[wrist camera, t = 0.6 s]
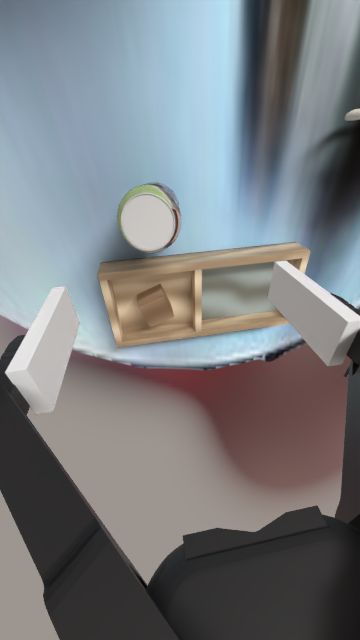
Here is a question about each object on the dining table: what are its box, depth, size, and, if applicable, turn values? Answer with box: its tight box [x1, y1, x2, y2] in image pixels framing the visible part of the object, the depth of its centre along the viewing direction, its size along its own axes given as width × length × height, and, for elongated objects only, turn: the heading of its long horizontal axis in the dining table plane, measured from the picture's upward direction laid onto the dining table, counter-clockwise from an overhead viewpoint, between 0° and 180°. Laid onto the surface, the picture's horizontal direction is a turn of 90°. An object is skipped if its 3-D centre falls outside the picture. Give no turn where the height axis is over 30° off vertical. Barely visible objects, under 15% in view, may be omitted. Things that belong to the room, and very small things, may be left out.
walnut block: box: [137, 284, 174, 327], centre depth 37 cm, size 4×4×4 cm
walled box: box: [98, 242, 310, 348], centre depth 38 cm, size 13×30×4 cm, turn 93°
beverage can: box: [117, 183, 181, 253], centre depth 27 cm, size 6×7×12 cm
